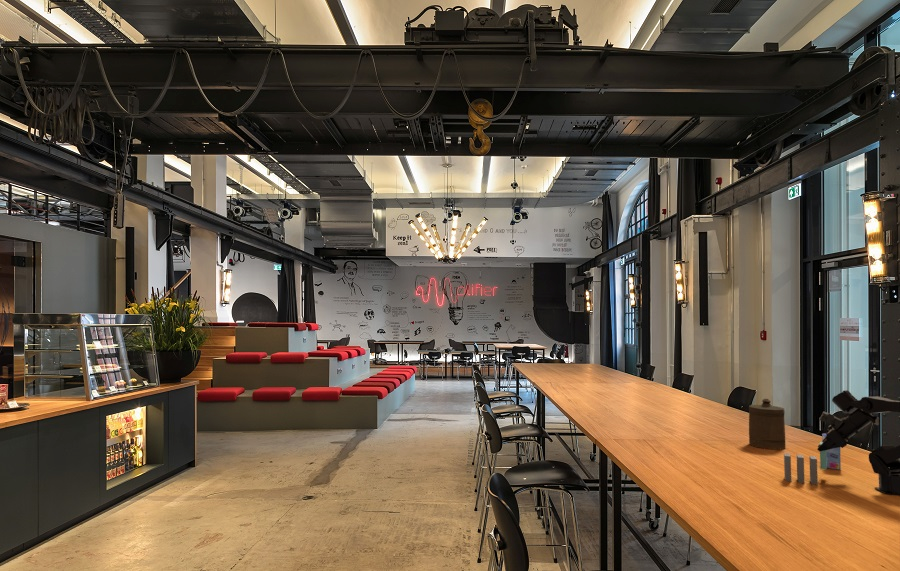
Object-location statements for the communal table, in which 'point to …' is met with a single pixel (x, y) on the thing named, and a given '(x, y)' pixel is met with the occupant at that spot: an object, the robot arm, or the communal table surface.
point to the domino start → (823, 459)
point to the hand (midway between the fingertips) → (818, 449)
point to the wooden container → (767, 426)
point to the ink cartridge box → (833, 457)
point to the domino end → (787, 466)
